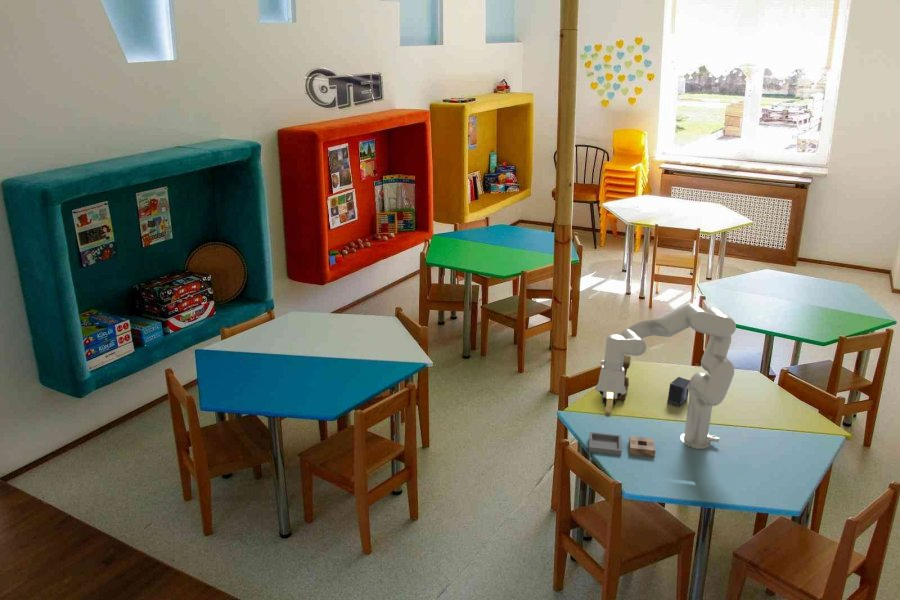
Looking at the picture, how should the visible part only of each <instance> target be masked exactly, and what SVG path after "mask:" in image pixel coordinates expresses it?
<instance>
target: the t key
mask: <svg viewBox="0 0 900 600" xmlns="http://www.w3.org/2000/svg"><path fill="white" fill-rule="evenodd" d="M612 406H613V393H612V392H607V400H606V407H605V410H604V416H605V417H609V418H610V417H612V416H611V415H612V408H613V407H612Z"/></svg>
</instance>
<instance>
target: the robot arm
mask: <svg viewBox="0 0 900 600" xmlns="http://www.w3.org/2000/svg"><path fill="white" fill-rule="evenodd" d="M688 328H690V329H692V330H693V331H695V332H697V333H701V334H705V335H708V336H709V339H708V342H707V345H706V347H705V349H704V352H703V354H702V357H701V361H700V366H701V368H702V369H703V370H704V372H701V371H699V372H695V373H694V374H693V375H692V376H691V377H690V379H689V380H690V382H689V392H688V404H687V405H688V406H687V412H686V420H685V427H684V433H682V434H681V435H680V437H679V439H680V441H681V442H682V443H683V444H684V445H687V446H689V447H688V448H691V449H695V450H704V449H708V448H710V446H711V443H712V442H714V443H719V442H720V437H717V436H716V435H715V434H709V429H710V423H711V418H712V417H711V416H712V410H713V407H716V406H718V405H720V404H721V403H723V401H724V399H725V398H726V396H727V393H728V391H729V389H730V387H731V384H732V381H733V378H734V375H735V367H734V364H733V363H732V361H730V360H729V359H728V358H727V355H728V352H729V350H730V346H731V343H732V336H733V334H734V333H735V332H736V329H737V325H736V322H735V321H734V319H733V318H732V317H730V316H729V315H727V314H726V313H725V312H724V311H723V310H721V309H719V308H717V307H714V306H713V307H711V306H710V307H708V308H706V309H705V310H704V309H703V308H702V307H700V306H699V305H697V304H695V303H687V304H685V305H683V306H681V307H679V308H677V309H675V310H673V311H671V312H669V313H667V314H666V315H664V316H662V317H659V318H653V319H647V320H643V321H638V322H637V323H635V324H632V325H630V326H628V327H627V328H625V329H624V330H622V331H621V333H620V334H616V333H613V334H610V335H609V334H608V336H606V342H605V352H604V359H603V360H600V362H599V363H600V364H601V365H602V366H601V369H600V372H599V377H598V382H597V384H596V385H595V387H594V391H596V392H598V393H599V394H600V395H601V396H602V404H603V406H604V408H606V400H607V394H606V393H607V392H612V393H614V395H613V406H612V408H614V407H615V406H616V404H617V397H619V396H620V395H622V394H626V389H625V387H624V381H625V372H624V368H623V360H624V355H627V356H633V357H635V356H636V357H638V356H642V355H643V354H645V353H646V350H647V344H646V341H644V338H647V337H651V336H656V337H657V336H659V337H663V338H665V337H666V338H670V337H673V336H675V335H677V334H678V333H680V332H682V331H685V330H686V329H688Z"/></svg>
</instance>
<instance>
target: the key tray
mask: <svg viewBox="0 0 900 600" xmlns="http://www.w3.org/2000/svg"><path fill="white" fill-rule="evenodd" d="M588 439H589V440H588V443H589V444H588V454H590V455H593V452H594V453H601V454H608V455H616V456H617V455H618V456H621V455H622V451H623V450H622V449H623V448H622V435H619V434H612V433H604V432H603V433H602V432H595V431H594V432H593V431H590V432H589V438H588Z"/></svg>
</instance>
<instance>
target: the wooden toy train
mask: <svg viewBox="0 0 900 600" xmlns="http://www.w3.org/2000/svg"><path fill="white" fill-rule="evenodd" d="M631 360H632V358H631V355H625V354H624V360H623V368H624V372H625V381H624V387H625V389H626V394H622V395H620V396H619V397H617V399H618V400H621V401H623V402H624V401H625V400H626V398H627V394H628V393H627V392H628V389H629V386H630V383H629V381H630V380H629V377H627V372H628V369H629V368H630V366H631ZM606 394H607V393H606ZM613 395H614V393H613ZM617 399H616V400H617Z"/></svg>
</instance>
